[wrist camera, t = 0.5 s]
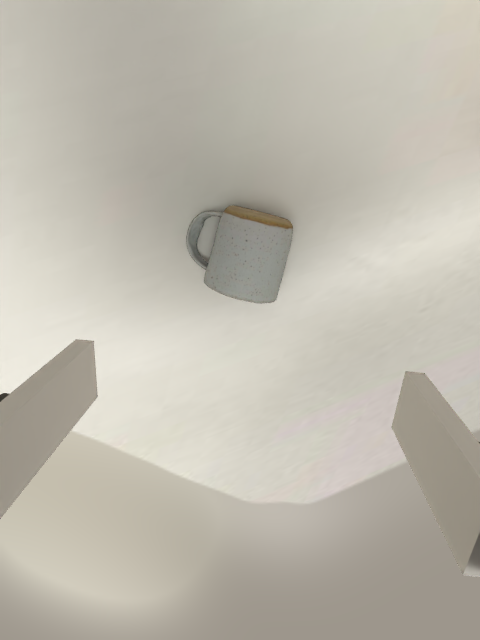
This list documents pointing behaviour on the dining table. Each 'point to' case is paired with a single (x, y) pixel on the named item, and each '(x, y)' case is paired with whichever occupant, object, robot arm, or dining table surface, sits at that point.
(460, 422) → the robot arm
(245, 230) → the ceramic mug
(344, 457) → the dining table surface
